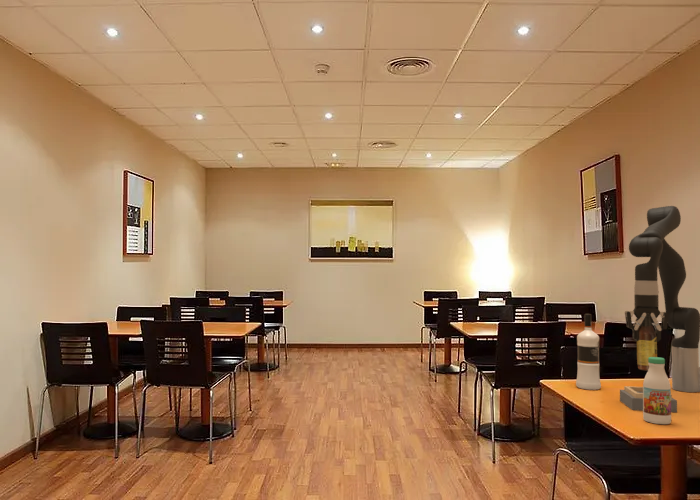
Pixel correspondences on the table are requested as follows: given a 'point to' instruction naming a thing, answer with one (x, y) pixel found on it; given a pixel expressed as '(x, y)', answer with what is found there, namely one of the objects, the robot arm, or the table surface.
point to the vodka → (588, 358)
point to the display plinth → (638, 398)
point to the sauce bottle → (646, 343)
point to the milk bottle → (656, 393)
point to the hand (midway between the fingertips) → (646, 340)
